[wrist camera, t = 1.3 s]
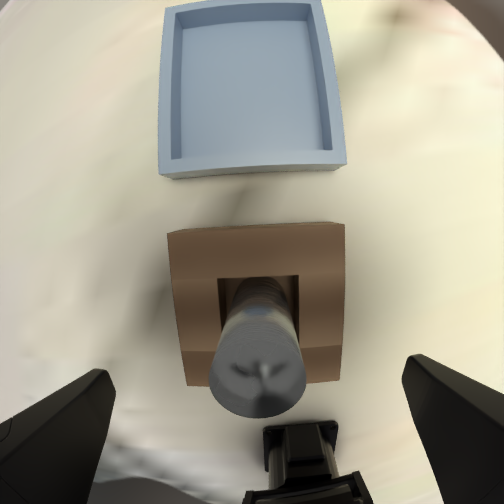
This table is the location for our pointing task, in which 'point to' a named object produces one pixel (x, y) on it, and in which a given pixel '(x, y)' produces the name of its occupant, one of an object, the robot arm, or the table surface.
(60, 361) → the table surface
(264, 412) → the pin
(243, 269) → the socket block
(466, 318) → the table surface
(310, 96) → the tray
